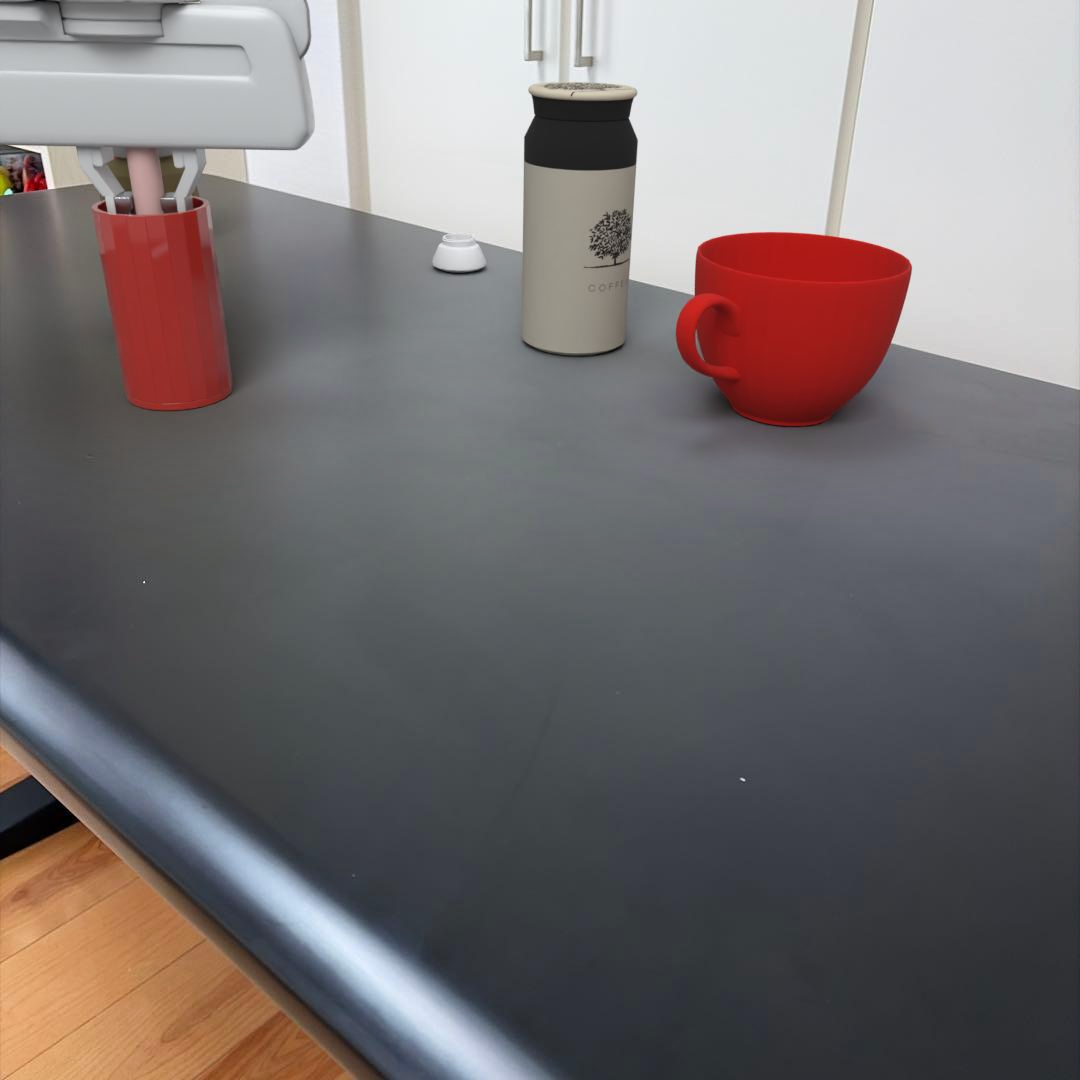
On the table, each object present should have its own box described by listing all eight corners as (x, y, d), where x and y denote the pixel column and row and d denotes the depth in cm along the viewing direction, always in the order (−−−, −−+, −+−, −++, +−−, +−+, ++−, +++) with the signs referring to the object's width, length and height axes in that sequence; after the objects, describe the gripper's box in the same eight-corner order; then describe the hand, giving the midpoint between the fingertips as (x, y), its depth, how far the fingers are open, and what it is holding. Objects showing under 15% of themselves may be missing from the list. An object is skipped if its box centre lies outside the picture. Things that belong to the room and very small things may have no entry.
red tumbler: (112, 410, 65) (75, 215, 59) (142, 374, 71) (111, 193, 65) (221, 410, 65) (194, 216, 59) (241, 374, 71) (219, 194, 65)
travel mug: (504, 332, 80) (505, 82, 72) (592, 321, 84) (603, 80, 75) (551, 363, 74) (559, 94, 66) (644, 349, 78) (663, 91, 69)
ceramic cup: (598, 413, 66) (606, 257, 61) (766, 362, 76) (784, 223, 71) (755, 483, 57) (779, 307, 53) (922, 415, 67) (955, 261, 62)
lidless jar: (426, 273, 96) (478, 276, 95) (425, 240, 94) (478, 244, 94) (440, 260, 100) (490, 263, 100) (440, 229, 99) (490, 232, 98)
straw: (155, 357, 66) (113, 104, 58) (162, 348, 67) (123, 100, 60) (183, 357, 66) (146, 105, 59) (190, 348, 67) (154, 101, 60)
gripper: (314, -30, 59) (331, 216, 66) (-52, -40, 58) (3, 211, 65) (298, -30, 54) (318, 239, 60) (-107, -42, 53) (-40, 234, 59)
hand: (153, 225), depth 63 cm, fingers closed on straw, 2 cm apart
